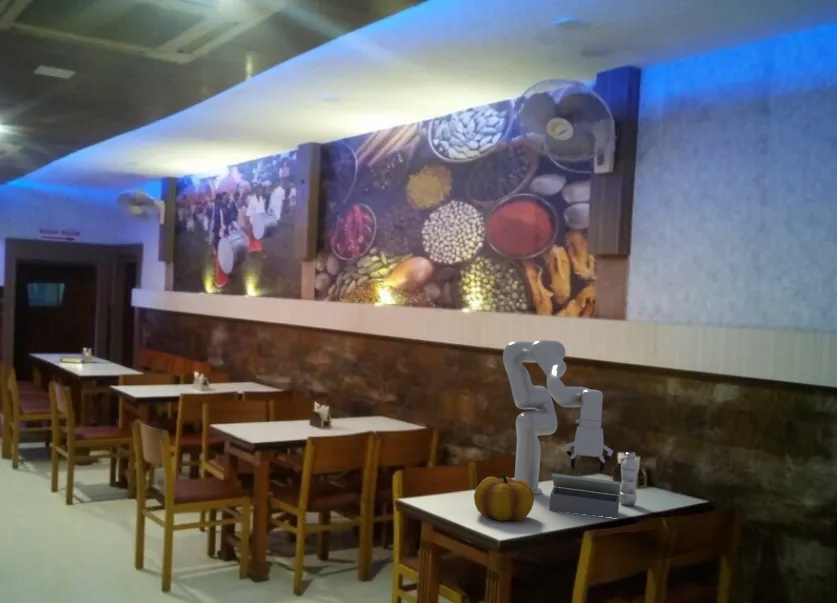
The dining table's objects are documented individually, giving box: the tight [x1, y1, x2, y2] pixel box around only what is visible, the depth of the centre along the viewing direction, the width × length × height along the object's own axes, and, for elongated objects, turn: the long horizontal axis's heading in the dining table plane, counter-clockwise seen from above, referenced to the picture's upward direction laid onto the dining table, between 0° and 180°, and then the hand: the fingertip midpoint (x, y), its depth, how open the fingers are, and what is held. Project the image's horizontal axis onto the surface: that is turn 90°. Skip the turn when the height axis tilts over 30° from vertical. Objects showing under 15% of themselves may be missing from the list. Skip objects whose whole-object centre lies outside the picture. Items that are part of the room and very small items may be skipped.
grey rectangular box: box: [549, 486, 620, 520], centre depth 283 cm, size 24×12×6 cm, turn 74°
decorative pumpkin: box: [473, 473, 535, 522], centre depth 267 cm, size 20×22×15 cm
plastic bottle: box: [619, 451, 639, 506], centre depth 297 cm, size 6×7×20 cm
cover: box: [551, 473, 621, 495], centre depth 284 cm, size 24×12×1 cm
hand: (587, 471), depth 281 cm, fingers open, 9 cm apart
